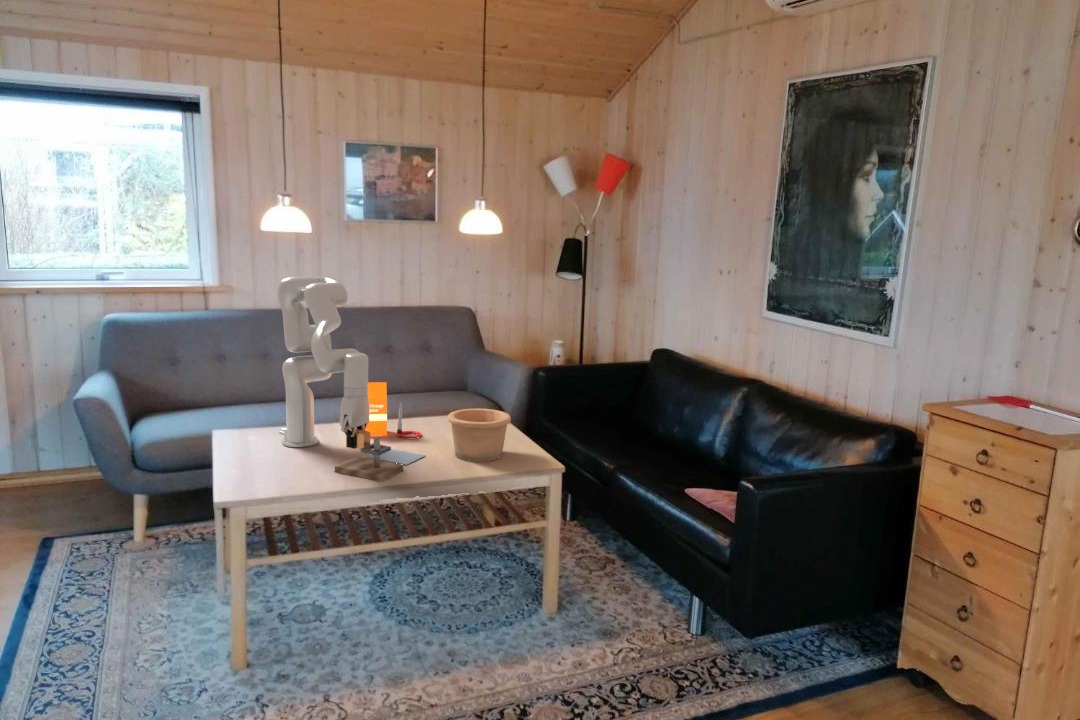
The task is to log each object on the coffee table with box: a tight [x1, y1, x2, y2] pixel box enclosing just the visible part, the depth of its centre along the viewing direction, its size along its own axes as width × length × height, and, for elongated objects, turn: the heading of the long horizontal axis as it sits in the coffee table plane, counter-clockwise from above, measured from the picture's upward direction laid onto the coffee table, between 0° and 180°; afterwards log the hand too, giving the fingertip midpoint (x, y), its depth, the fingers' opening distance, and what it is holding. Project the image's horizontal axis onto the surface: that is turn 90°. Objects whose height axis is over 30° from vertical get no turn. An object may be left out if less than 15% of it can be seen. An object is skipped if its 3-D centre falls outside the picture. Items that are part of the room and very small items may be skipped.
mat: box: [366, 448, 426, 466], centre depth 259 cm, size 16×12×1 cm
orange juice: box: [365, 381, 388, 437], centre depth 286 cm, size 8×9×20 cm
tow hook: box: [395, 402, 422, 439], centre depth 285 cm, size 8×13×9 cm
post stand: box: [334, 436, 404, 482], centre depth 242 cm, size 18×12×12 cm, turn 67°
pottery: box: [447, 407, 512, 462], centre depth 265 cm, size 22×22×14 cm
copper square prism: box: [345, 428, 392, 456], centre depth 242 cm, size 14×7×6 cm, turn 67°
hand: (355, 445), depth 245 cm, fingers closed on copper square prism, 3 cm apart
